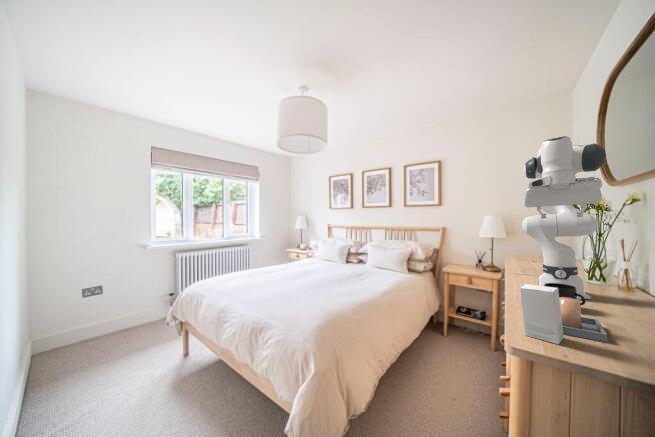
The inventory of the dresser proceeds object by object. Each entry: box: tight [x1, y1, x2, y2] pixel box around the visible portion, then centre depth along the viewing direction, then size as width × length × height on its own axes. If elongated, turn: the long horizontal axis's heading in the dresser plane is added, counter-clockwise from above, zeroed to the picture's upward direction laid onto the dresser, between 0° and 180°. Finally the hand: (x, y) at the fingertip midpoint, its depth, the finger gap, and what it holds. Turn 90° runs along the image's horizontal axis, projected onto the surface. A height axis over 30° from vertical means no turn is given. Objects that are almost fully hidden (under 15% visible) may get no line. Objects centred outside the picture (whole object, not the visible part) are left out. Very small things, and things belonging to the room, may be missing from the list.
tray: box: [562, 316, 609, 344], centre depth 79 cm, size 14×14×2 cm
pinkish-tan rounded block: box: [559, 297, 582, 329], centre depth 79 cm, size 5×5×9 cm
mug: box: [544, 283, 587, 307], centre depth 96 cm, size 9×12×9 cm
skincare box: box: [519, 283, 564, 345], centre depth 74 cm, size 8×7×16 cm
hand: (561, 217), depth 86 cm, fingers open, 8 cm apart
